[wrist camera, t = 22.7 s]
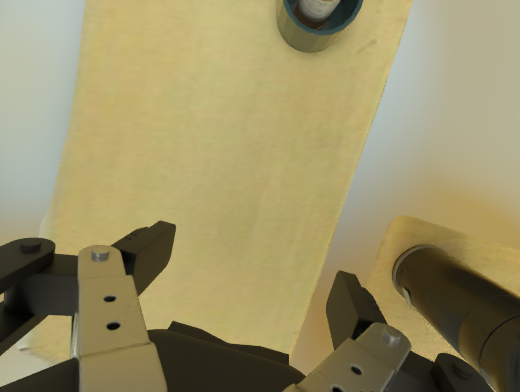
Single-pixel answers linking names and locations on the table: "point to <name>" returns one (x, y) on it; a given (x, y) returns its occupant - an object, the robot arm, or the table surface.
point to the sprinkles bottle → (314, 12)
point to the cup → (311, 38)
